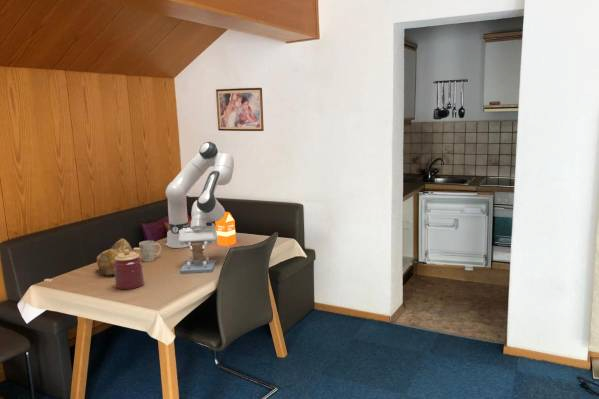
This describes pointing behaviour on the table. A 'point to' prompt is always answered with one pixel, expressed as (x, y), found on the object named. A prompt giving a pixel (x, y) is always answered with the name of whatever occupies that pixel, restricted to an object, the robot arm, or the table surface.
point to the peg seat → (198, 266)
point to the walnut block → (197, 251)
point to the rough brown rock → (111, 257)
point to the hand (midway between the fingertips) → (197, 250)
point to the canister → (128, 270)
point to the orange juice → (226, 230)
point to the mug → (148, 250)
